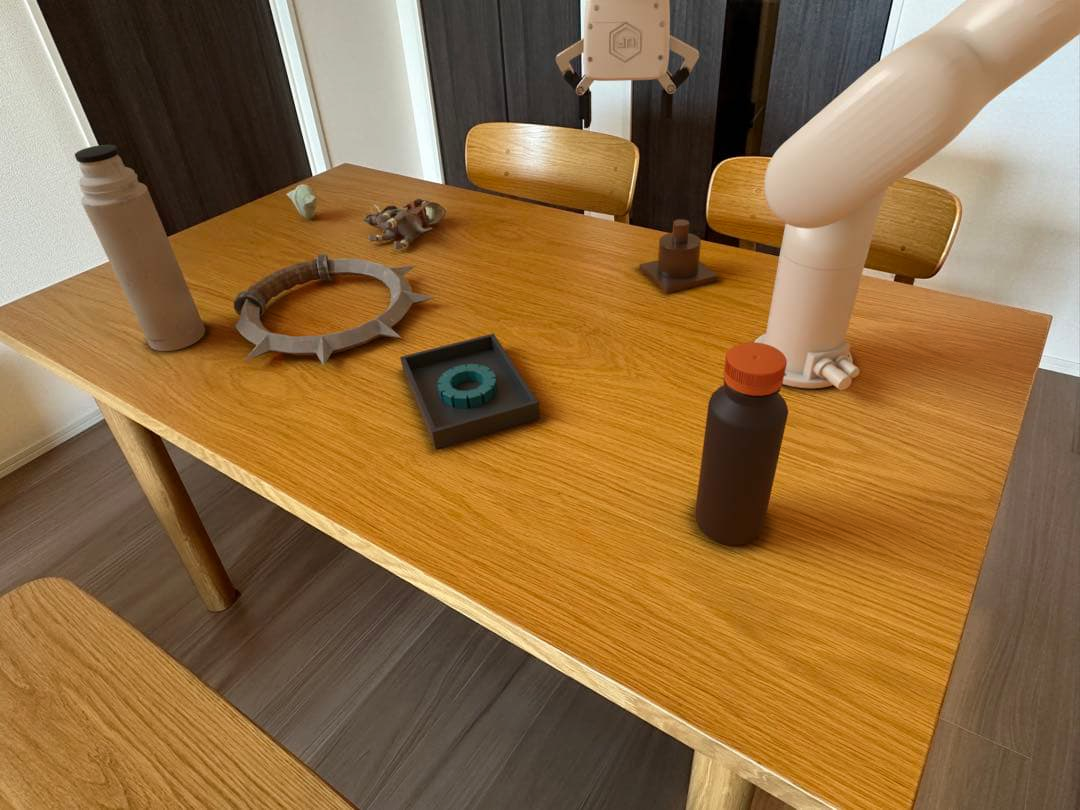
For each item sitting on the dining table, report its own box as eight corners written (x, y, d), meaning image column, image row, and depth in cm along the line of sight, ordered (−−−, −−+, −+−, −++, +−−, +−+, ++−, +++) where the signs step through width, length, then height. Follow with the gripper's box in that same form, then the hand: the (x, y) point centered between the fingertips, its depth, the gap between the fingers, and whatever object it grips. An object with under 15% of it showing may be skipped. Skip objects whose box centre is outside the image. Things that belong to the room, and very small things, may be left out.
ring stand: (717, 281, 109) (723, 227, 104) (666, 293, 107) (670, 239, 101) (687, 258, 116) (691, 206, 110) (639, 269, 114) (641, 217, 108)
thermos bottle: (138, 343, 104) (46, 155, 87) (183, 318, 109) (105, 136, 92) (171, 356, 100) (82, 163, 83) (216, 330, 106) (141, 143, 88)
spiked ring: (183, 336, 104) (311, 411, 90) (173, 310, 101) (302, 383, 87) (353, 252, 124) (479, 301, 110) (348, 228, 122) (477, 276, 107)
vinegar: (762, 553, 67) (799, 386, 54) (691, 540, 68) (711, 376, 56) (764, 502, 72) (798, 340, 59) (697, 492, 73) (717, 332, 61)
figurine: (334, 211, 127) (396, 181, 138) (343, 242, 130) (402, 211, 141) (417, 223, 117) (476, 190, 128) (424, 257, 120) (481, 222, 132)
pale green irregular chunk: (289, 217, 139) (280, 184, 135) (306, 210, 142) (297, 178, 138) (314, 226, 135) (305, 192, 131) (331, 218, 138) (322, 185, 133)
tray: (539, 419, 85) (538, 402, 83) (435, 449, 81) (431, 432, 80) (495, 348, 97) (493, 333, 96) (403, 372, 94) (400, 356, 92)
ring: (504, 398, 87) (503, 388, 86) (448, 414, 85) (446, 404, 84) (486, 368, 93) (485, 358, 92) (433, 382, 91) (431, 372, 90)
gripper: (548, -24, 77) (554, 134, 88) (707, -31, 74) (694, 133, 85) (557, -32, 83) (562, 117, 93) (704, -39, 80) (692, 115, 91)
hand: (625, 124), depth 89 cm, fingers open, 9 cm apart
